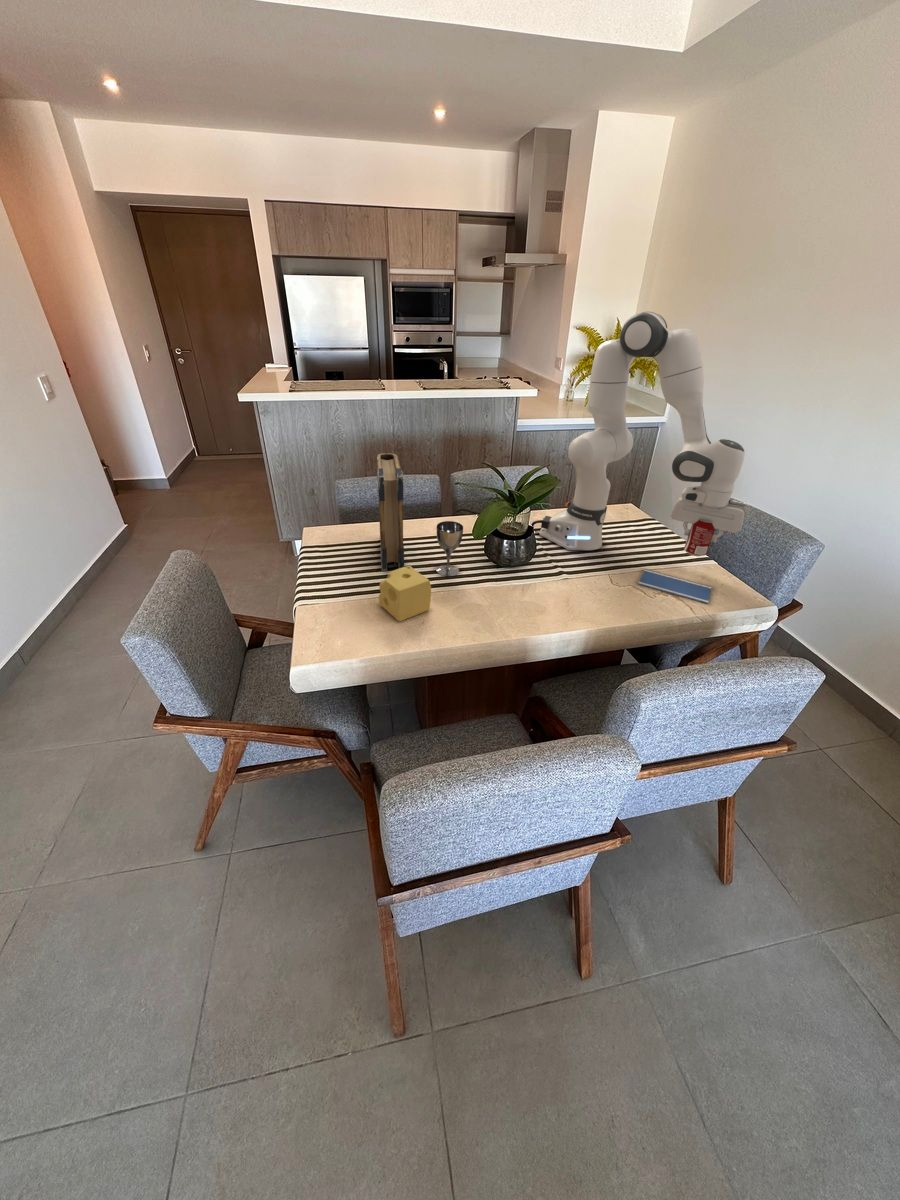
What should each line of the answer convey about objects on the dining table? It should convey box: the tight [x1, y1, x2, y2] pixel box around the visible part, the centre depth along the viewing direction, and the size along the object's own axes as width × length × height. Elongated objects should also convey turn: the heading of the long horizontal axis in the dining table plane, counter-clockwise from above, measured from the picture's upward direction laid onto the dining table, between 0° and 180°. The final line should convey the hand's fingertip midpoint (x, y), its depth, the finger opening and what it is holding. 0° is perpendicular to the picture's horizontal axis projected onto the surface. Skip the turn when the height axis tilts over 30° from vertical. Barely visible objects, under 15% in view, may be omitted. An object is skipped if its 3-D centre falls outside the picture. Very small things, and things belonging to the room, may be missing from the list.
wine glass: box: [435, 520, 464, 577], centre depth 151 cm, size 8×8×15 cm
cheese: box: [378, 565, 432, 622], centre depth 134 cm, size 10×11×10 cm
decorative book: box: [376, 452, 405, 572], centre depth 156 cm, size 23×7×30 cm, turn 9°
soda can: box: [683, 519, 716, 557], centre depth 156 cm, size 7×7×12 cm
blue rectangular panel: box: [638, 568, 712, 605], centre depth 153 cm, size 20×11×1 cm, turn 61°
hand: (699, 538), depth 157 cm, fingers closed on soda can, 7 cm apart
